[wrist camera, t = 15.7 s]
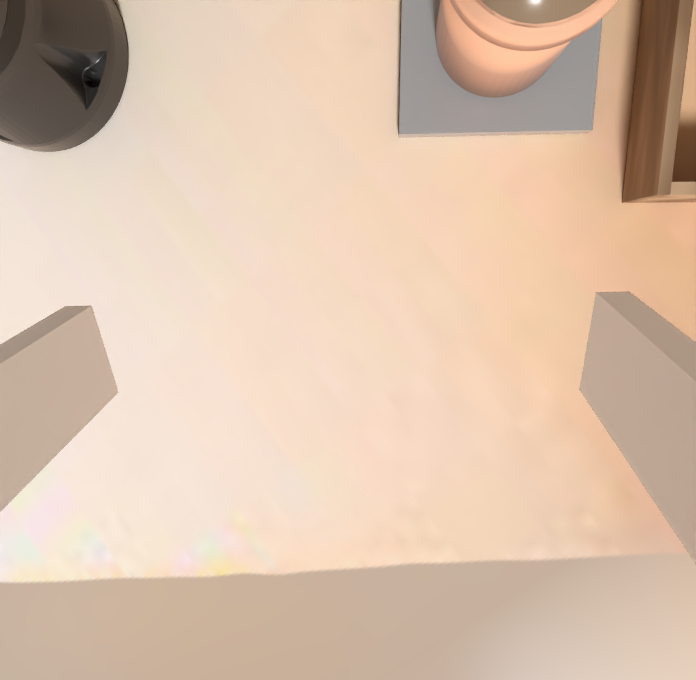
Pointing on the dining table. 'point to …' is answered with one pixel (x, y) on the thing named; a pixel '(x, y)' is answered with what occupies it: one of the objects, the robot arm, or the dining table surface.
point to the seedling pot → (508, 39)
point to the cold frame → (658, 104)
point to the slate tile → (485, 112)
